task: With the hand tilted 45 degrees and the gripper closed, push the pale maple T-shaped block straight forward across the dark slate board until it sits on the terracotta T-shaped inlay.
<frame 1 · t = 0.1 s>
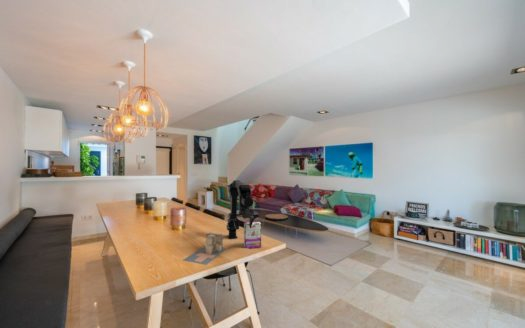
hand: (243, 228, 136), 15 cm above the table, tool pointing down, fingers open, 9 cm apart
maple T block: (212, 251, 135), point 1 cm above the table, touching slate board
slate board: (206, 254, 130), on the table
candy bar box: (252, 247, 144), on the table
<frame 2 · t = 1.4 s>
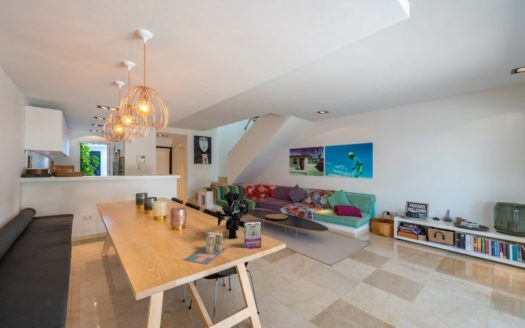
hand: (223, 226, 148), 12 cm above the table, tool tilted 45°, fingers open, 8 cm apart
nothing on the table moved.
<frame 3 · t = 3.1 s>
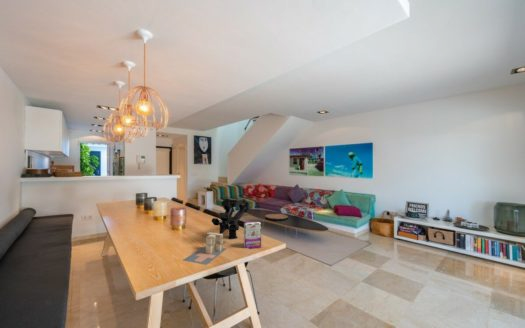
hand: (220, 233, 144), 8 cm above the table, tool tilted 45°, fingers closed
nothing on the table moved.
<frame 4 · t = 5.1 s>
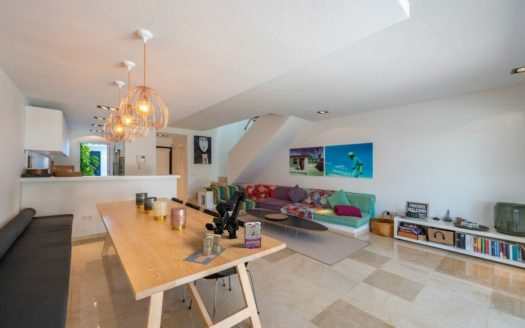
hand: (214, 239, 137), 7 cm above the table, tool tilted 45°, fingers closed
maple T block: (210, 252, 132), point 1 cm above the table
everything else where it was.
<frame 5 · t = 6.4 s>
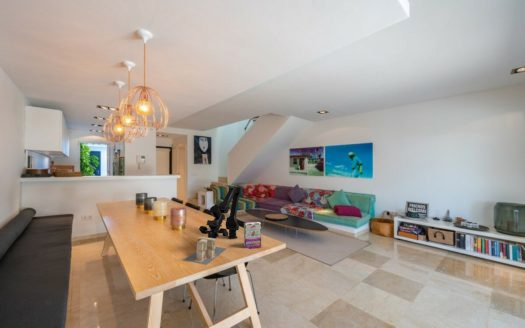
hand: (208, 243, 130), 7 cm above the table, tool tilted 45°, fingers closed
maple T block: (203, 257, 126), point 1 cm above the table
everything else where it was.
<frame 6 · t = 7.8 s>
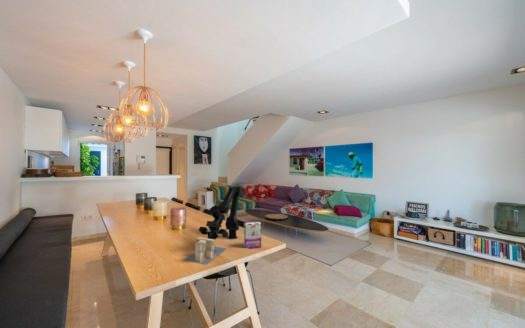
hand: (208, 244, 130), 6 cm above the table, tool tilted 45°, fingers closed
maple T block: (202, 258, 124), point 1 cm above the table, touching slate board
everything else where it was.
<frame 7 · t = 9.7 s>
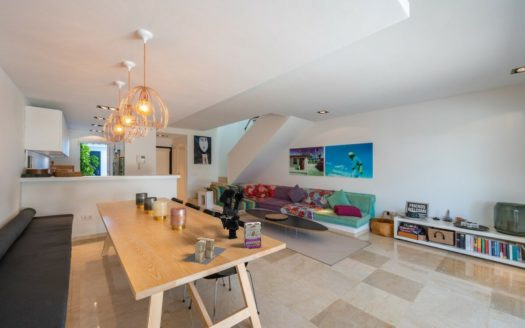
hand: (224, 229, 145), 11 cm above the table, tool tilted 20°, fingers closed
nothing on the table moved.
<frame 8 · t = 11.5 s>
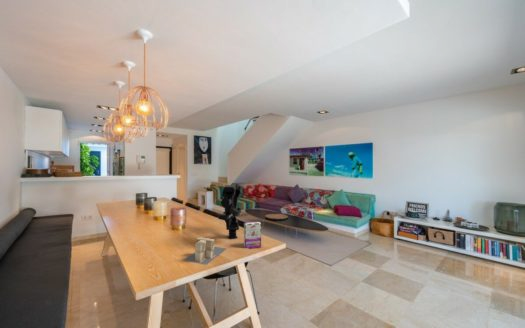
hand: (228, 226, 149), 12 cm above the table, tool pointing down, fingers closed
nothing on the table moved.
at the end: maple T block 0.5 cm from the target spot, point 0.6 cm above the table; maple T block tilted 0°; maple T block moved 10.7 cm from its start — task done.
